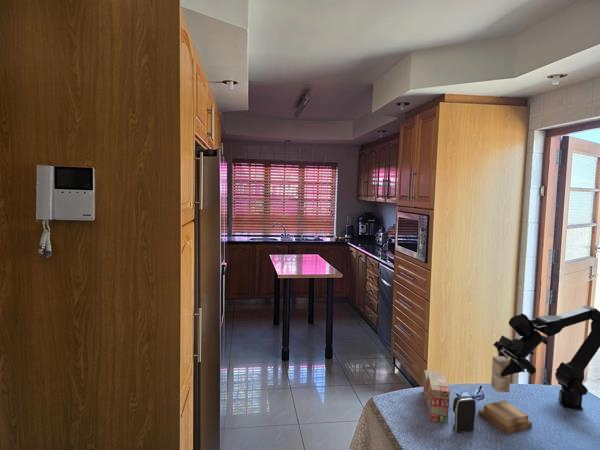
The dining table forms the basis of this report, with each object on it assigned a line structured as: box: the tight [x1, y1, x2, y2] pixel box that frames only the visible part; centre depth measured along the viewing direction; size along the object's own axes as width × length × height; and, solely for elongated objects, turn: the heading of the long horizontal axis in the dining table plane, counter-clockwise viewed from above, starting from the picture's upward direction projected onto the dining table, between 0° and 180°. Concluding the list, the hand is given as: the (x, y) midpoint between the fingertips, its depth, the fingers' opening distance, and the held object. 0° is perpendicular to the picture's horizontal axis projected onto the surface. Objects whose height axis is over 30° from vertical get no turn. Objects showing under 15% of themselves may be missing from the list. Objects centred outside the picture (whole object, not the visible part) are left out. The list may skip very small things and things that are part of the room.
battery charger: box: [452, 395, 477, 433], centre depth 135 cm, size 7×4×11 cm, turn 103°
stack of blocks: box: [423, 369, 451, 425], centre depth 149 cm, size 21×6×12 cm, turn 169°
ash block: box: [490, 355, 511, 393], centre depth 149 cm, size 4×4×12 cm
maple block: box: [483, 400, 529, 427], centre depth 141 cm, size 10×10×2 cm
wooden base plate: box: [478, 408, 533, 435], centre depth 141 cm, size 12×12×2 cm
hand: (497, 372), depth 149 cm, fingers closed on ash block, 4 cm apart
